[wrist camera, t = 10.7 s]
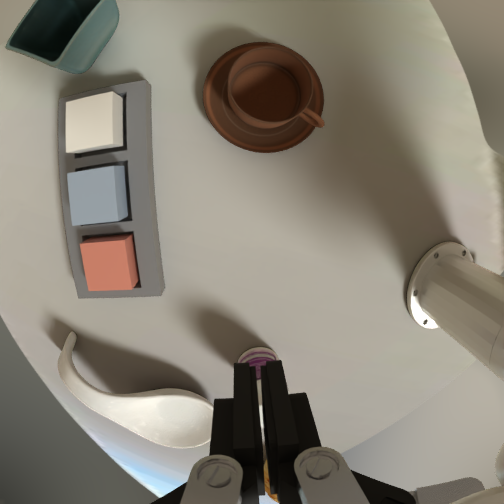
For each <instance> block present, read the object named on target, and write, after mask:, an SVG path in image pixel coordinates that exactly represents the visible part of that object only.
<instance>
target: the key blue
mask: <svg viewBox="0 0 504 504" xmlns="http://www.w3.org/2000/svg"><path fill="white" fill-rule="evenodd" d="M67 179H68V192H69V202H70V211H71V220H72V226H76V225H85V224H95V223H104V222H115V221H120V220H122V219H123V218H125V217H127V216H128V210H127V199H126V187H125V172H124V166H109V167H102V168H96V169H90V170H84V171H78V172H72V173H67Z"/></svg>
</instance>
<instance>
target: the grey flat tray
mask: <svg viewBox="0 0 504 504" xmlns="http://www.w3.org/2000/svg"><path fill="white" fill-rule="evenodd" d="M112 91H113V92H114V93H116V94H117V95H119V96H120V97H122V98H123V146H120V147H113V148H107V149H101V150H95V151H90V152H84V153H66V102H69V101H73V100H77V99H81V98H85V97H89V96H93V95H98V94H102V93H107V92H112ZM58 149H59V172H60V186H61V197H62V207H63V216H64V223H65V231H66V237H67V244H68V250H69V256H70V261H71V266H72V271H73V276H74V281H75V286H76V290H77V295H78V298H120V297H149V296H161V295H162V293H163V291H164V289H165V283H164V276H163V268H162V260H161V252H160V243H159V234H158V224H157V213H156V201H155V188H154V172H153V153H152V122H151V85H150V84H149V83H148V81H147V80H141V81H135V82H129V83H124V84H119V85H113V86H109V87H104V88H99V89H95V90H91V91H87V92H82V93H79V94H75V95H71V96H67V97H64V98H60V99H59V111H58ZM109 166H124V172H125V187H126V199H127V210H128V216H127V217H125V218H123V219H122V220H120V221H115V222H104V223H95V224H85V225H76V226H72V220H71V211H70V202H69V192H68V179H67V173H72V172H78V171H84V170H90V169H96V168H102V167H109ZM122 234H133V236H134V244H135V252H136V259H137V266H138V273H139V281H138V282H137V283H136V285H135V286H134V288H133V289H132V290H108V291H89V290H88V285H87V281H86V276H85V271H84V265H83V260H82V254H81V248H80V243H82V242H84V241H85V240H87V239H89V238H91V237H98V236H110V235H122Z"/></svg>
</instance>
